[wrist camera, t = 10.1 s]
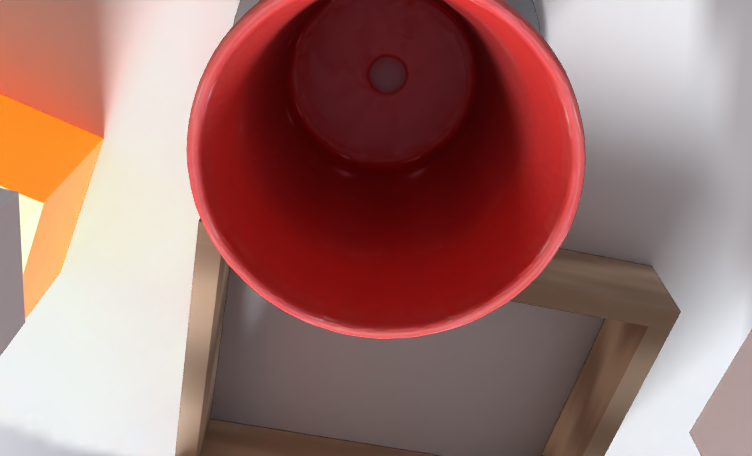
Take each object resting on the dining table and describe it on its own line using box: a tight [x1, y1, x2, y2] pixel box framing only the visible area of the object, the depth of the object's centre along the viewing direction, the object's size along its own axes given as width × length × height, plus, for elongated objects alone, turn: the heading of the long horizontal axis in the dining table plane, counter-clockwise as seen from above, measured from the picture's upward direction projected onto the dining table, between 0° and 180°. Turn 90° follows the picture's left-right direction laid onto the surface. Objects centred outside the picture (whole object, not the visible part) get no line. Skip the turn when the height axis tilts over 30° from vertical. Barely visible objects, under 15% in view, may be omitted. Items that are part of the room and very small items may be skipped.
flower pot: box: [187, 0, 585, 339], centre depth 23 cm, size 11×11×10 cm
